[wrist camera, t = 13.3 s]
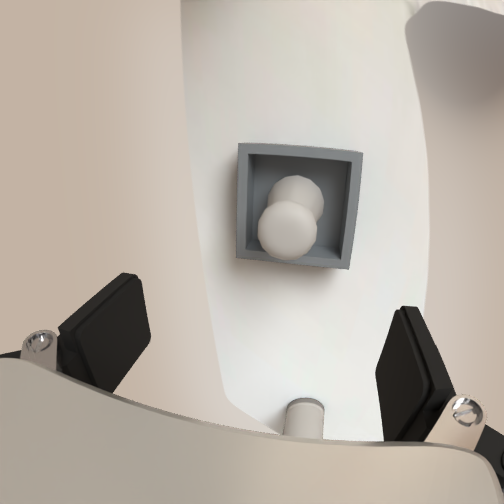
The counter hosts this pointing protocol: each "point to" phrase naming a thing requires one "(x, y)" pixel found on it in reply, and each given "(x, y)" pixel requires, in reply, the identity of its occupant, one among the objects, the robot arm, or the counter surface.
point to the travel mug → (304, 419)
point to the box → (319, 172)
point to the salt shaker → (290, 218)
